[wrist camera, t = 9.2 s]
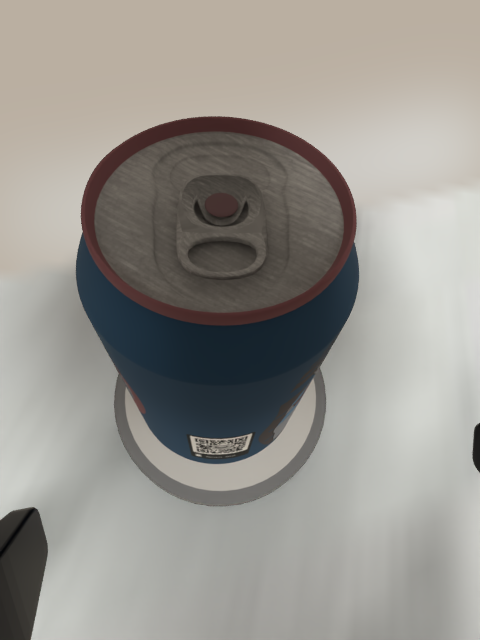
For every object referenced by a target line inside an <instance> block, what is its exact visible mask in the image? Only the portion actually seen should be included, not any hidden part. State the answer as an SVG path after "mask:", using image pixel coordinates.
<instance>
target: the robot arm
mask: <svg viewBox="0 0 480 640" xmlns="http://www.w3.org/2000/svg"><path fill="white" fill-rule="evenodd" d="M473 462H474V465H475V467H476V468H477V470H478V471H479V472H480V423H479V424H477V425H476V427H475V429H474V440H473ZM47 555H48V545H47V540H46V536H45V533H44V529H43V525H42V521H41V518H40V514H39V512H38V510H37V509H36V508H34V507H30V508H25V509H20V510H15V511H12V512H10V513H9V514H7V515H6V516H5V517H4V518H2V519H1V520H0V640H31V636H32V631H33V626H34V621H35V616H36V611H37V606H38V601H39V596H40V591H41V586H42V581H43V576H44V571H45V566H46V561H47Z"/></svg>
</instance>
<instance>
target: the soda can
mask: <svg viewBox="0 0 480 640" xmlns="http://www.w3.org/2000/svg"><path fill="white" fill-rule="evenodd" d="M81 224H82V230H83V233H82V236H81V240H80V244H79V248H78V253H77V260H76V280H77V287H78V292H79V296H80V299H81V302H82V305H83V307H84V310H85V312H86V314H87V316H88V318H89V319H90V321H91V323H92V325H93V327H94V329H95V330H96V332H97V334H98V336H99V338H100V340H101V341H102V343H103V345H104V347H105V349H106V351H107V352H108V354H109V356H110V358H111V360H112V362H113V363H114V365H115V367H116V369H117V371H118V372H119V374H120V376H121V378H122V380H123V382H124V383H125V385H126V387H127V389H128V391H129V393H130V394H131V396H132V398H133V400H134V402H135V404H136V405H137V407H138V409H139V411H140V413H141V415H142V416H143V418H144V420H145V422H146V424H147V425H148V427H149V429H150V430H151V432H152V433H153V434H154V436H155V437H156V438H157V439H158V440H159V441H160V442H161V443H162V444H163V445H164V446H166V447H167V448H168V449H170V450H171V451H173V452H174V453H176V454H178V455H180V456H182V457H184V458H186V459H189V460H192V461H196V462H200V463H206V464H227V463H233V462H237V461H241V460H244V459H246V458H249V457H251V456H253V455H255V454H257V453H259V452H260V451H262V450H263V449H265V448H266V447H267V446H269V445H270V444H271V443H272V442H273V441H274V440H275V439H276V438H277V437H278V436H279V434H280V433H281V432H282V430H283V429H284V428H285V426H286V424H287V423H288V421H289V419H290V417H291V416H292V414H293V412H294V410H295V409H296V407H297V405H298V404H299V402H300V400H301V398H302V397H303V395H304V393H305V392H306V390H307V388H308V386H309V385H310V383H311V381H312V379H313V378H314V376H315V374H316V373H317V371H318V369H319V367H320V366H321V364H322V362H323V361H324V359H325V357H326V355H327V354H328V352H329V350H330V349H331V347H332V345H333V343H334V342H335V340H336V338H337V336H338V335H339V333H340V331H341V330H342V328H343V326H344V324H345V323H346V321H347V319H348V317H349V315H350V313H351V311H352V308H353V306H354V302H355V299H356V295H357V290H358V282H359V266H358V258H357V252H356V247H355V243H354V238H355V233H356V209H355V204H354V200H353V197H352V194H351V191H350V189H349V187H348V185H347V183H346V181H345V179H344V178H343V176H342V175H341V173H340V172H339V170H338V169H337V168H336V167H335V165H334V164H333V163H332V162H331V161H330V160H329V159H328V158H327V157H326V156H325V155H324V154H322V153H321V152H320V151H319V150H318V149H316V148H315V147H313V146H312V145H311V144H309V143H307V142H306V141H305V140H303V139H301V138H299V137H298V136H296V135H294V134H292V133H290V132H287V131H285V130H283V129H280V128H277V127H274V126H272V125H268V124H265V123H261V122H257V121H253V120H248V119H241V118H233V117H195V118H187V119H181V120H176V121H172V122H168V123H164V124H161V125H158V126H155V127H152V128H150V129H148V130H145V131H143V132H141V133H139V134H137V135H135V136H133V137H131V138H130V139H128V140H126V141H125V142H123V143H122V144H120V145H119V146H118V147H116V148H115V149H113V150H112V151H111V152H110V153H109V154H107V155H106V156H105V157H104V158H103V159H102V160H101V161H100V163H99V164H98V165H97V167H96V168H95V169H94V171H93V173H92V174H91V176H90V178H89V181H88V182H87V185H86V188H85V191H84V195H83V199H82V205H81Z"/></svg>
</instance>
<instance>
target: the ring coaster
mask: <svg viewBox="0 0 480 640" xmlns="http://www.w3.org/2000/svg"><path fill="white" fill-rule="evenodd" d="M114 408H115V418H116V423H117V427H118V431H119V434H120V437H121V439H122V442H123V444H124V447H125V448H126V450H127V452H128V453H129V455H130V457H131V458H132V460H133V461H134V462H135V464H136V465H137V466H138V467H139V469H140V470H141V471H142V472H143V473H144V474H145V475H146V476H147V477H148V478H149V479H150V480H151V481H153V482H154V483H155V484H156V485H157V486H159V487H160V488H162V489H163V490H165V491H166V492H168V493H170V494H172V495H174V496H176V497H178V498H180V499H182V500H186V501H189V502H192V503H195V504H201V505H207V506H231V505H238V504H243V503H246V502H250V501H254V500H256V499H259V498H261V497H263V496H265V495H268V494H269V493H271V492H273V491H274V490H276V489H277V488H279V487H280V486H282V485H283V484H284V483H285V482H286V481H288V480H289V479H290V478H291V477H292V476H293V475H294V474H295V473H296V472H297V471H298V470H299V469H300V468H301V467H302V466H303V465H304V463H305V462H306V461H307V459H308V458H309V456H310V455H311V453H312V452H313V450H314V448H315V446H316V444H317V441H318V439H319V437H320V434H321V431H322V427H323V424H324V418H325V412H326V394H325V385H324V381H323V376H322V373H321V370H320V367H319V369H318V371H317V373H316V374H315V376H314V378H313V379H312V381H311V383H310V385H309V386H308V388H307V390H306V392H305V393H304V395H303V397H302V398H301V400H300V402H299V404H298V405H297V407H296V409H295V410H294V412H293V414H292V416H291V417H290V419H289V421H288V423H287V424H286V426H285V428H284V429H283V430H282V432H281V433H280V434H279V436H278V437H277V438H276V439H275V440H274V441H273V442H272V443H271V444H270V445H269V446H267V447H266V448H265V449H263V450H262V451H260V452H259V453H257V454H255V455H253V456H251V457H249V458H246V459H244V460H241V461H237V462H233V463H227V464H206V463H200V462H196V461H192V460H189V459H186V458H184V457H182V456H180V455H178V454H176V453H174V452H173V451H171V450H170V449H168V448H167V447H166V446H164V445H163V444H162V443H161V442H160V441H159V440H158V439H157V438H156V437H155V436H154V434H153V433H152V432H151V430H150V429H149V427H148V425H147V424H146V422H145V420H144V418H143V416H142V415H141V413H140V411H139V409H138V407H137V405H136V404H135V402H134V400H133V398H132V396H131V394H130V393H129V391H128V389H127V387H126V385H125V383H124V382H123V380H122V378H121V376H120V374H119V375H118V378H117V383H116V389H115V401H114Z"/></svg>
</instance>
